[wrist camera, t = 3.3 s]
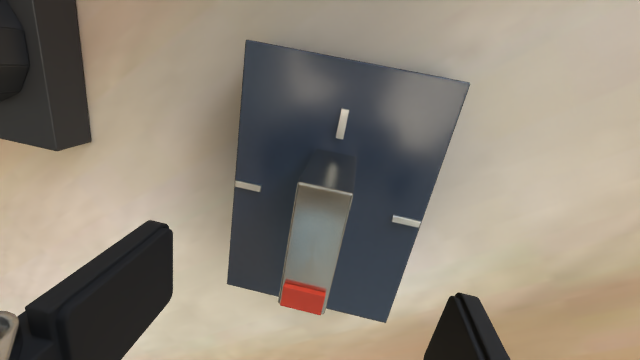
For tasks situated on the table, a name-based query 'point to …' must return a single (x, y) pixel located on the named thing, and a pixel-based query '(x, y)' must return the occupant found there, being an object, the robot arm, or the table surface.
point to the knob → (317, 230)
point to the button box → (42, 75)
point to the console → (345, 138)
